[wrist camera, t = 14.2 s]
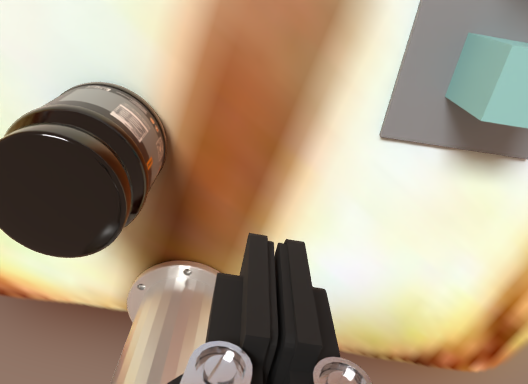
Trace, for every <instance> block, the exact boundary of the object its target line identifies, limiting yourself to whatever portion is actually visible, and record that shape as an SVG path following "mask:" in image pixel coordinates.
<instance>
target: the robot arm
mask: <svg viewBox="0 0 528 384" xmlns="http://www.w3.org/2000/svg"><path fill="white" fill-rule="evenodd" d="M127 309H128V313H129V316H130V318H131V320H132V322H133V325H132V327H131V330H130V333H129V335H128V338H127V341H126V343H125V346H124V349H123V351H122V354H121V357H120V359H119V362H118V365H117V367H116V370H115V373H114V375H113V378H112V381H111V384H373V383H372V382H371V380H370V378H369V376H368V375H367V373H365V371H364V370H363V369H362V368H361V367H359V366H358V365H356V364H355V363H353V362H352V361H349V360H347V359H344V358H340V353H339V348H338V344H337V339H336V334H335V330H334V325H333V320H332V316H331V311H330V306H329V302H328V297H327V293H326V290H325V289H321V288H315V287H312V282H311V277H310V271H309V265H308V259H307V253H306V248H305V243H304V242H301V241H295V240H288V239H286V240H285V242H284V244H283V243H278V245H277V249H276V252H275V256H274V242H271V241H268V238H267V236H264V235H258V234H252V233H249V235H248V239H247V244H246V249H245V253H244V258H243V262H242V267H241V272H240V276H237V275H231V274H224V273H220V272H219V271H217V270H215V269H213V268H211V267H209V266H207V265H204V264H201V263H197V262H191V261H169V262H163V263H160V264H157V265H154V266H152V267H150V268H149V269H147V270H145V271H144V272H143V273H142V274H140V275H139V276H138V277H137V279H136V280H135V281H134V283H133V285H132V287H131V289H130V291H129V295H128V298H127Z"/></svg>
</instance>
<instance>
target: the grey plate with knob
mask: <svg viewBox="0 0 528 384" xmlns="http://www.w3.org/2000/svg"><path fill="white" fill-rule="evenodd" d="M468 33H474V34H479V35H485V36H491V37H496V38H502V39H508V40H513V41H519V42H525V43H528V0H420V3H419V7H418V10H417V13H416V17H415V20H414V23H413V26H412V30H411V33H410V36H409V40H408V43H407V46H406V49H405V53H404V56H403V59H402V62H401V66H400V69H399V72H398V76H397V79H396V82H395V85H394V89H393V92H392V95H391V99H390V102H389V105H388V108H387V112H386V115H385V118H384V121H383V125H382V128H381V131H380V136H381V137H386V138H392V139H399V140H405V141H412V142H418V143H425V144H432V145H438V146H445V147H451V148H458V149H464V150H471V151H477V152H484V153H491V154H497V155H504V156H510V157H517V158H523V159H528V128H522V127H516V126H509V125H503V124H497V123H491V122H484V121H480V120H479V119H477V118H476V117H474V116H473V115H471V114H470V113H468V112H467V111H466V110H464V109H463V108H461V107H460V106H458V105H457V104H455V103H454V102H452V101H451V100H449V99H448V98H446V97H445V95H446V92H447V90H448V87H449V84H450V82H451V79H452V76H453V73H454V71H455V68H456V65H457V63H458V60H459V57H460V54H461V52H462V49H463V46H464V44H465V41H466V38H467V35H468Z"/></svg>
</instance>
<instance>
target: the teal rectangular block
mask: <svg viewBox="0 0 528 384" xmlns="http://www.w3.org/2000/svg"><path fill="white" fill-rule="evenodd" d="M445 97H446V98H448V99H449V100H451V101H452V102H454V103H455V104H457V105H458V106H460V107H461V108H463V109H464V110H466V111H467V112H468V113H470V114H471V115H473V116H474V117H476V118H477V119H479V120H480V121H484V122H491V123H497V124H503V125H509V126H516V127H522V128H528V43H525V42H519V41H513V40H508V39H502V38H496V37H491V36H485V35H479V34H474V33H468V35H467V38H466V41H465V44H464V46H463V49H462V52H461V54H460V57H459V60H458V63H457V65H456V68H455V71H454V73H453V76H452V79H451V82H450V84H449V87H448V90H447V92H446V95H445Z"/></svg>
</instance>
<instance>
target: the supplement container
mask: <svg viewBox="0 0 528 384" xmlns="http://www.w3.org/2000/svg"><path fill="white" fill-rule="evenodd" d="M166 153H167V140H166V135H165V131H164V128H163V125H162V123H161V121H160V119H159V117H158V116H157V114H156V113H155V111H154V110H153V109H152V107H151V106H150V105H149V104H148V103H147V102H146V101H145V100H144V99H142V98H141V97H140V96H139V95H137V94H135V93H134V92H132V91H130V90H128V89H126V88H124V87H122V86H119V85H115V84H111V83H105V82H90V83H84V84H80V85H77V86H75V87H72V88H70V89H69V90H67V91H65V92H64V93H62V94H61V95H60V96H59V97H57V98H55V99H54V100H52V101H50V102H49V103H47V104H45V105H44V106H42V107H40V108H37V109H34V110H32V111H30V112H28V113H26V114H24V115H23V116H22V117H20V118H19V119H17V120H16V121H15V122H14V123H13V124H12V125H11V126H10V128H9V129H8V130H7V132H6V134H5V135H4V137H3V138H2V139H0V229H1V230H2V231H4V232H5V233H6V234H7V235H8V236H9V237H11V238H12V239H14V240H15V241H16V242H18V243H20V244H21V245H23V246H25V247H27V248H29V249H31V250H34V251H36V252H39V253H42V254H45V255H50V256H55V257H63V258H75V257H83V256H88V255H91V254H94V253H96V252H99V251H101V250H103V249H104V248H106V247H107V246H109V245H110V244H111V243H112V242H113V241H114V240H115V239H116V238H117V237H118V235H119V234H120V232H121V231H122V229H123V228H124V227H126V226H127V225H128V224H130V223H131V222H132V221H133V220H134V219H135V217H136V216H137V215H138V214H139V212H140V211H141V209H142V207H143V205H144V203H145V200H146V197H147V194H148V192H149V190H150V188H151V186H152V184H153V183H154V181H155V179H156V177H157V176H158V175H159V173H160V171H161V169H162V167H163V165H164V162H165V159H166Z"/></svg>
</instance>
